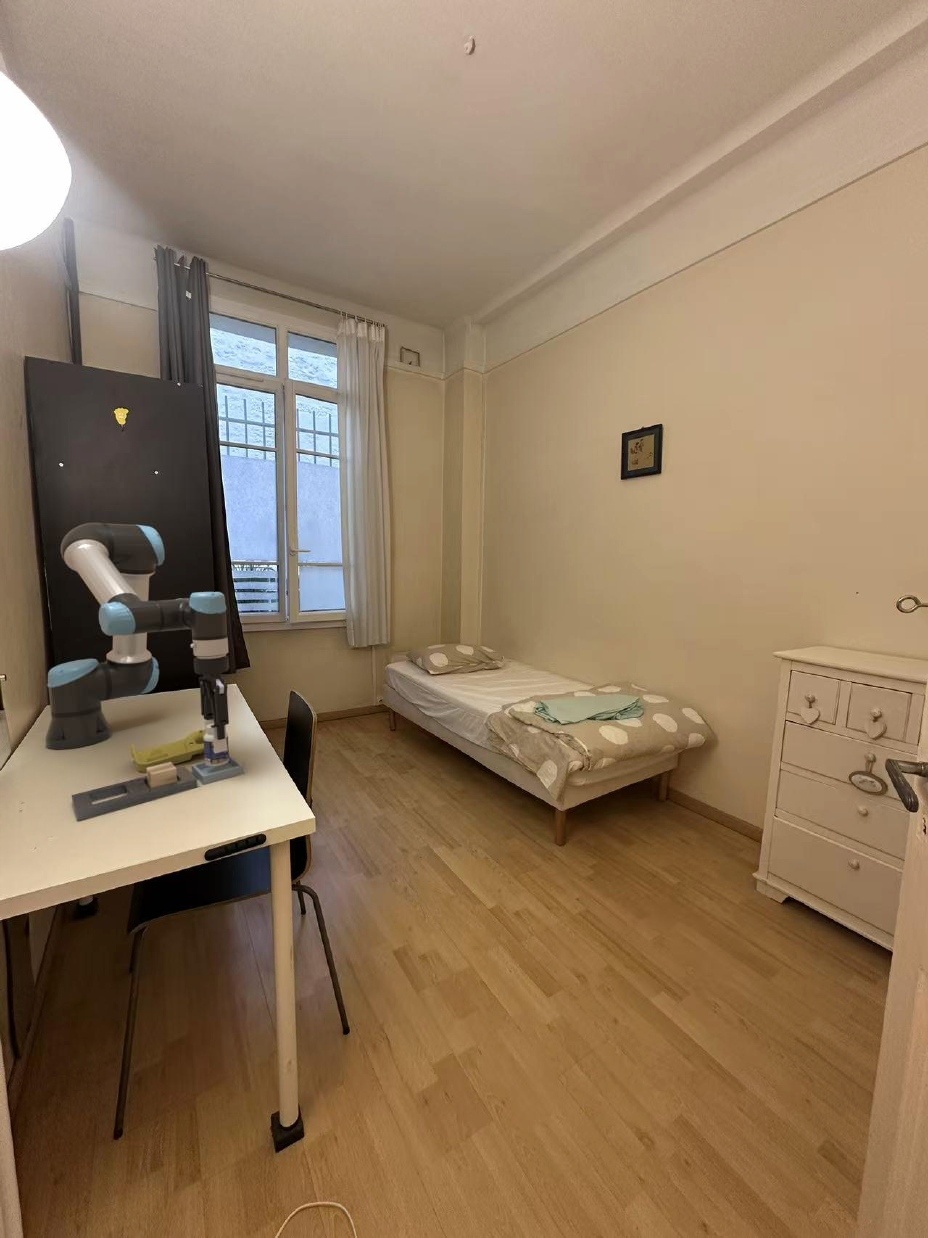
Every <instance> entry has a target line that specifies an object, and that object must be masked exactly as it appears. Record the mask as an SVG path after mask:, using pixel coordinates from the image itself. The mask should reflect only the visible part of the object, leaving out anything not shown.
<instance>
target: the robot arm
mask: <svg viewBox="0 0 928 1238" xmlns="http://www.w3.org/2000/svg"><path fill="white" fill-rule="evenodd" d="M60 544H61V545H60V554H61V558H62V559H63V561H64V562H65V564H66V565H67V567H68V568H70V569H71V570H72V571H75V572H76V573H78V575H79V576H80V578H81V579H82V581H84V584H86V586H87V587H88V589H89V591H90V592H91V593H92V595H93V596H94V597H95V600H97V602H98V603H99V605H100V607H99V610H98V621H99V622H98V623H99V625H100V629H101V631H102V633H104V634H105V635H107V636H109V637H110V636H112V650H110V651H109V652H108V653H106V660H105V661H104V662H99V661H98V660H97V659H95V658H86V659H77V660H74V661H68V662H65V663H61V664H58V665H56V666H54V667H52V668H50V670H49V671H48V673H47V688H48V695H49V697H48V698H49V706H50V716H51V720H50V723H49V727H48V729H47V732H46V736H45V739H44V740H45V747H46V748H48V749H50V750H67V749H75V748H82V747H87V746H90V745H94V744H97V743H101V742H104V741H105V740H107V739H109V738H110V737H111V736H112V731H111V726H110V724H109V723H108V720H107V718H106V716H105V715H104V713H103V710H102V702H105V701H110V700H117V699H121V698H127V697H132V696H133V697H134V696H141V695H142V694H146V693H149V692H151V691H153V690H154V689H155V687H156V686H157V684H158V681H159V675H160V669H159V662H158V661H157V659H156V658H155V657H154V656H152V653H151V652H150V650H148V649H147V641H148V640H147V638H148V635H147V634H149V633H157V632H158V633H159V632H167V631H168V632H169V631H179V630H180V631H181V630H191V634H192V635H191V636H192V637H191V639H192V643H191V644H190V648H191V649H192V650H193V651H192V654H193V656H195V657H194V658H193V668H194V669H193V670H194V673H195V674H197V675H202V676H200V677H198V682H199V689H200V690H199V691H200V692H199V693H200V710H201V713H200V714H201V716H203V719H204V726H205V727H204V730H205V733H206V734H207V732H206V726H207V725H208V724H211V723H214V725H212V726H211V728H213V741H214V753H219V752H223V751H227V741H226V732H227V728H226V726H227V725H229V724H230V720H229V717H230V716H229V705H228V684H226V683H225V682H224V678H223V677H222V674H223V673H226V672H228V671H229V669H230V663H229V656H228V655H227V654H228V653H229V640H228V638H229V637H228V629H227V628H228V627H227V626H228V624H227V605H226V598H225V594H224V593H222V592H221V591H215V592H214V591H203V592H202V591H200V592H191V594H190V596H189V598H188V597H184V598H181V597H180V598H176V599H163V600H149V590H150V588H149V587H150V577H151V576H153V575H154V574H155V573H156V567H157V566H161V565H163V563H164V561H165V547H164V543H163V540H162V537H161V536H160V534H159V532H158V531H157V529H155V528H153V527H152V526H148V525H141V524H129V523H127V524H126V523H125V524H124V523H104V522H103V523H101V522H87V523H83V524H81V525H78V526H76V527H74V528H72V529H71V530H70V531H68V533H66V535H65V536H64V537H63V539H62V541H61V543H60Z"/></svg>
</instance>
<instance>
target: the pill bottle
mask: <svg viewBox="0 0 928 1238" xmlns="http://www.w3.org/2000/svg"><path fill="white" fill-rule="evenodd" d="M212 725H214V723H211V724H208V725H207V726H206V732H207V734H205V735H204V753H203V754H204V762H205V764H206V765H207V766H211V767H214V766H220V765H223V764H226V763H227V762H228V761H229V755H230V753H229V752H230V749H229V734H228V732H227V731H226V741H227V751H223V752H219V753H214V741H213V728H211V726H212Z"/></svg>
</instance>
